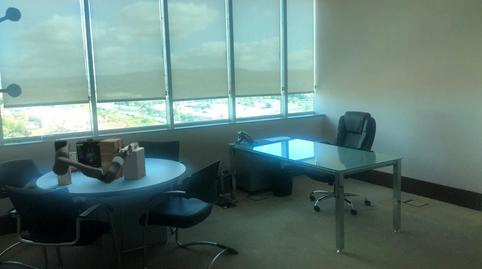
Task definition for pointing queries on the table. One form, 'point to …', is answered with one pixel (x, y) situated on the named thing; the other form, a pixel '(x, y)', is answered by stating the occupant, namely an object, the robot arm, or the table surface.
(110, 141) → the tall stand
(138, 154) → the light grey box
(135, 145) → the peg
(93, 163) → the headset box
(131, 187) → the table surface
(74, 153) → the candy bar box
